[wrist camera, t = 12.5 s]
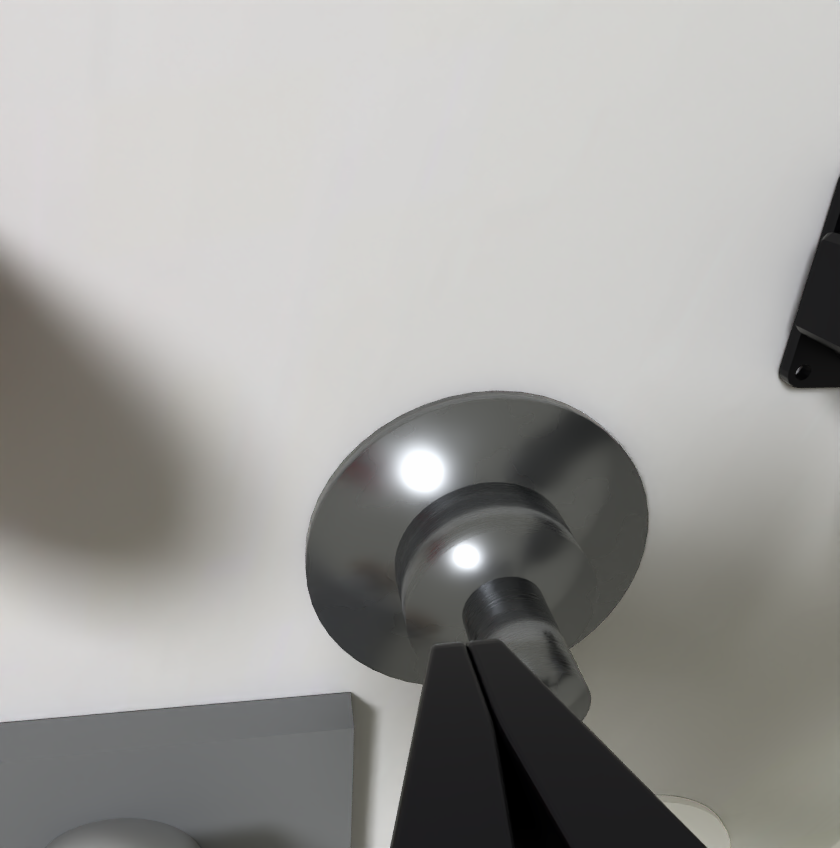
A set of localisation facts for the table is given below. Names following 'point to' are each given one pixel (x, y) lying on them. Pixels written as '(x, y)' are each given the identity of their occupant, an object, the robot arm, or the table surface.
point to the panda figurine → (698, 821)
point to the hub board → (182, 777)
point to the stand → (477, 536)
